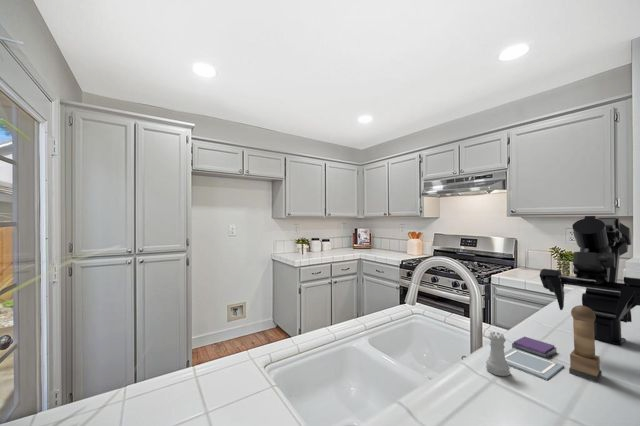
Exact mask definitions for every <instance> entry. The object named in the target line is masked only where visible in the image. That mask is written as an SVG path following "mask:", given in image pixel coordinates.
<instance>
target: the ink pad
mask: <svg viewBox="0 0 640 426" xmlns="http://www.w3.org/2000/svg"><path fill="white" fill-rule="evenodd" d="M512 348H515V349H518V350H521V351H524V352H527V353H530V354H533V355H536V356H539V357H542V358H545V359H548V360H549V358H550V357H552V356H553V355H555V354H557V352H558V351H557V347H556V346H555V345H554V344H551V343H548V342H544V341H541V340H538V339H535V338H531V337H527V336H522V337H520V338H518V339H516V340H515V341H513V342H512V343H511V349H512Z"/></svg>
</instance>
